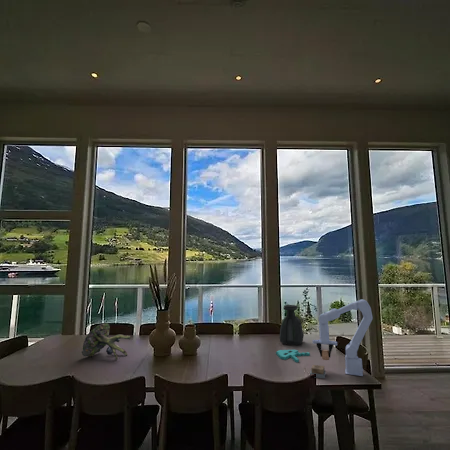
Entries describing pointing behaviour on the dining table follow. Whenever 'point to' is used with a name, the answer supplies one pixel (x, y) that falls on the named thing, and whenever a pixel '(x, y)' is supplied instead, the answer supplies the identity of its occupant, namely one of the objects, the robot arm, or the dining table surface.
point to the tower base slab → (319, 375)
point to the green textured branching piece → (102, 341)
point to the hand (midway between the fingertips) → (325, 356)
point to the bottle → (291, 327)
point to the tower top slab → (317, 369)
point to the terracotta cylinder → (325, 354)
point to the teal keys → (291, 354)
